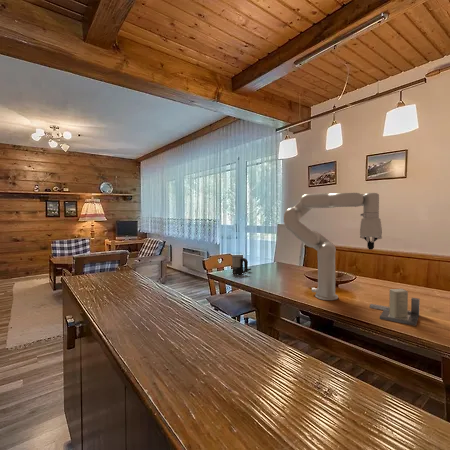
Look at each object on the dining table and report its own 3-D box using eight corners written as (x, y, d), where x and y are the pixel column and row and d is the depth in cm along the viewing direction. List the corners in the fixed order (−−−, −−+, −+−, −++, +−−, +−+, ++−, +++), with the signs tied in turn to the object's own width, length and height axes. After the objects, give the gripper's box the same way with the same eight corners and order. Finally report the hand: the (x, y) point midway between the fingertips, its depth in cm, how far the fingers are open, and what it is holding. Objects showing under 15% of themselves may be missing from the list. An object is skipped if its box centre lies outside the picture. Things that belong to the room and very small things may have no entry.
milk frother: (230, 274, 227) (230, 256, 226) (236, 270, 242) (236, 253, 241) (247, 275, 222) (247, 257, 221) (252, 271, 237) (252, 254, 236)
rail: (369, 307, 146) (369, 292, 146) (370, 306, 148) (371, 291, 148) (418, 317, 133) (419, 300, 132) (419, 315, 135) (419, 298, 135)
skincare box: (401, 313, 133) (402, 288, 133) (408, 317, 129) (408, 291, 128) (388, 314, 133) (389, 288, 133) (394, 317, 129) (395, 291, 128)
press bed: (379, 318, 132) (379, 315, 131) (383, 312, 139) (383, 309, 139) (415, 326, 123) (415, 322, 123) (418, 318, 130) (418, 316, 130)
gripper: (354, 216, 155) (354, 249, 156) (385, 216, 146) (384, 251, 147) (358, 215, 161) (357, 247, 162) (387, 215, 152) (387, 249, 153)
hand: (370, 249), depth 154 cm, fingers closed
